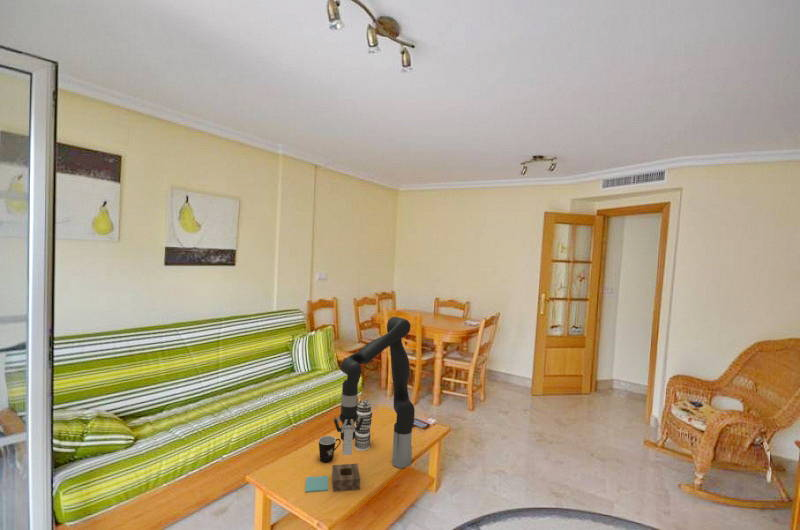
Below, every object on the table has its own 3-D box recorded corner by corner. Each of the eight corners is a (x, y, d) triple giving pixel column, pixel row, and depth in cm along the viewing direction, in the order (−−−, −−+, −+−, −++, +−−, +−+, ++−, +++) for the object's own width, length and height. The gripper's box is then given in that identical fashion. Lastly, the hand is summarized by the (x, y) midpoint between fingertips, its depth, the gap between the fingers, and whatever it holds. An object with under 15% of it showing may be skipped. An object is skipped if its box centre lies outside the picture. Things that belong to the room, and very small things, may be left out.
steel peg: (351, 449, 173) (352, 424, 172) (351, 454, 169) (353, 429, 168) (342, 450, 172) (343, 425, 171) (343, 455, 168) (344, 429, 167)
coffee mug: (318, 465, 183) (319, 445, 183) (317, 455, 191) (318, 436, 191) (341, 462, 186) (342, 443, 186) (339, 453, 195) (340, 434, 194)
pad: (327, 476, 174) (327, 475, 174) (328, 490, 164) (328, 489, 164) (306, 478, 172) (306, 477, 172) (305, 492, 162) (305, 491, 162)
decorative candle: (362, 453, 196) (365, 407, 195) (350, 446, 202) (352, 401, 201) (374, 446, 203) (376, 401, 202) (361, 440, 209) (363, 397, 208)
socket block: (357, 473, 178) (357, 463, 178) (359, 489, 166) (360, 478, 166) (332, 475, 175) (332, 465, 175) (332, 491, 164) (333, 480, 163)
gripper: (363, 399, 174) (362, 434, 175) (333, 400, 171) (331, 436, 172) (365, 405, 167) (364, 442, 168) (334, 407, 164) (332, 444, 165)
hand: (347, 439), depth 170 cm, fingers closed on steel peg, 4 cm apart
